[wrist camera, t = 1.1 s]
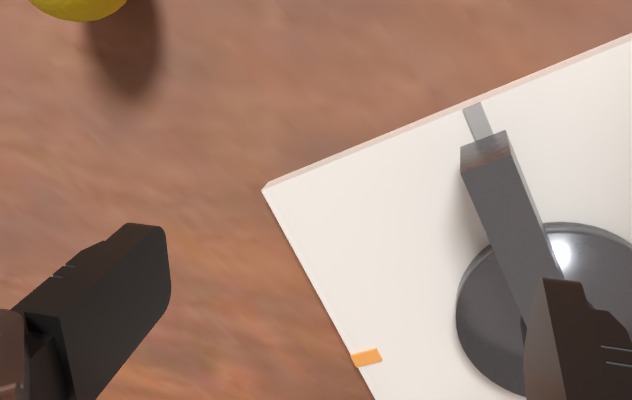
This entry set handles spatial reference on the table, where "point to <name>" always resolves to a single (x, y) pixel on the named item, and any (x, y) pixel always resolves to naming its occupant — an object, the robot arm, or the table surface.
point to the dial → (526, 263)
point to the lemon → (79, 8)
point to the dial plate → (452, 215)
